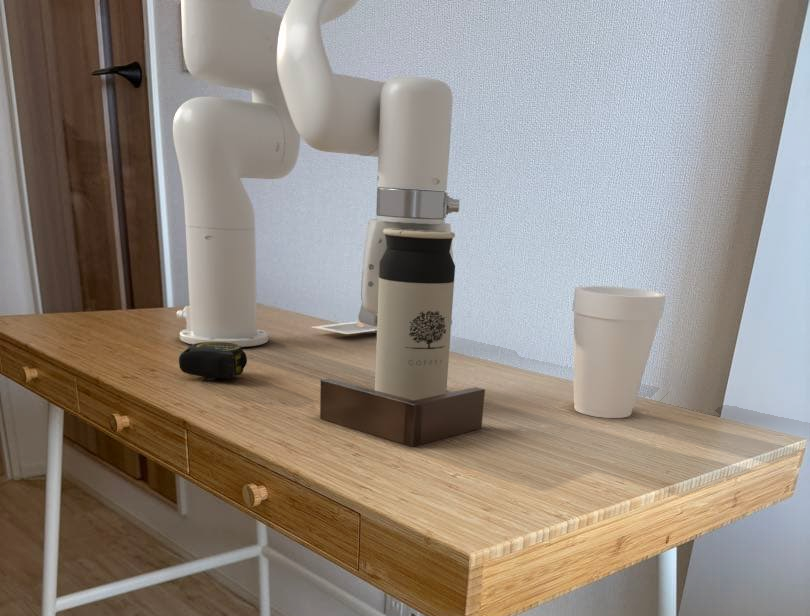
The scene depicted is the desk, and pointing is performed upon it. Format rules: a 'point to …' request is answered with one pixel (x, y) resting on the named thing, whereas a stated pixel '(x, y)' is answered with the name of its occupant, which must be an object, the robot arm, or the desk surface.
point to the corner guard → (401, 412)
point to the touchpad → (348, 327)
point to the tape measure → (213, 360)
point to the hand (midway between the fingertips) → (402, 375)
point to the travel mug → (414, 313)
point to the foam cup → (612, 346)
